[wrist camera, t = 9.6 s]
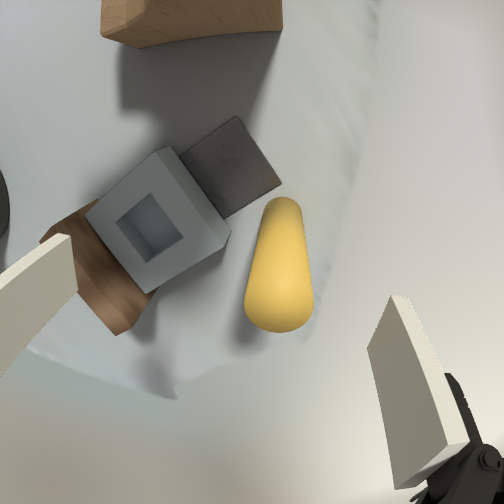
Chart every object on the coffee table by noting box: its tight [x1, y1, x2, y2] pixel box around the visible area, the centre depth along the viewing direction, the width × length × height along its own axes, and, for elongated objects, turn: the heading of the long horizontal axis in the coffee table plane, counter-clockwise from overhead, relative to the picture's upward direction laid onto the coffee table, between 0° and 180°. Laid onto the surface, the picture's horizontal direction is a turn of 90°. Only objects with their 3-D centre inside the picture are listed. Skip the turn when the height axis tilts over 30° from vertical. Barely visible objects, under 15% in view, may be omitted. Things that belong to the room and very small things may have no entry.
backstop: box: [39, 199, 159, 336], centre depth 32 cm, size 13×3×9 cm, turn 34°
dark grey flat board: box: [179, 116, 282, 219], centre depth 32 cm, size 8×19×1 cm, turn 124°
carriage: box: [84, 146, 231, 294], centre depth 31 cm, size 11×11×4 cm
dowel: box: [244, 197, 314, 333], centre depth 25 cm, size 4×4×16 cm
